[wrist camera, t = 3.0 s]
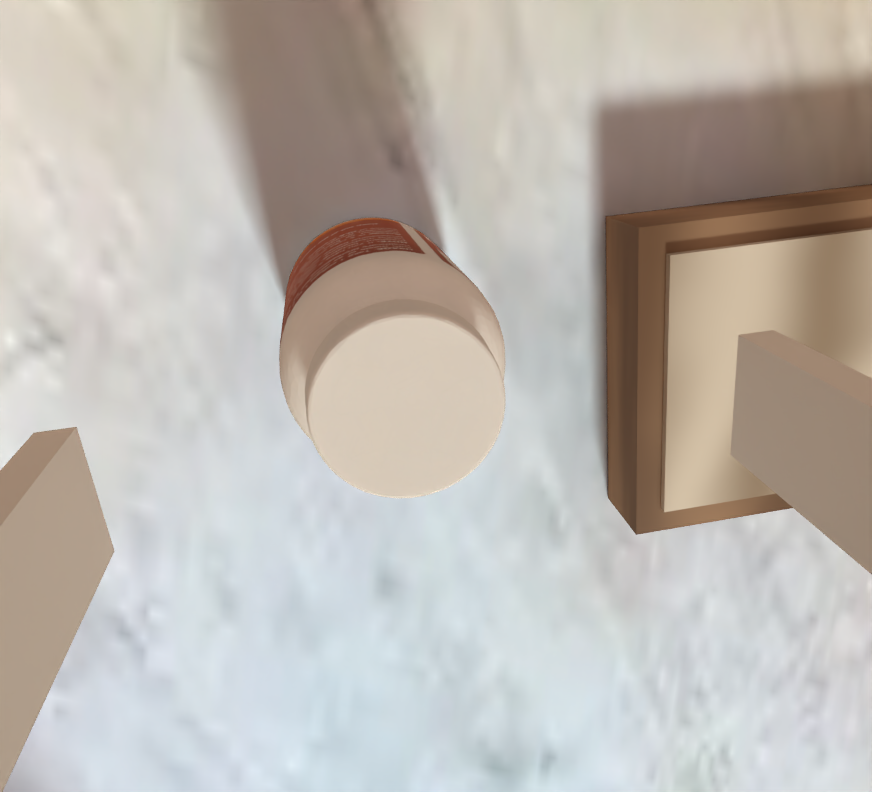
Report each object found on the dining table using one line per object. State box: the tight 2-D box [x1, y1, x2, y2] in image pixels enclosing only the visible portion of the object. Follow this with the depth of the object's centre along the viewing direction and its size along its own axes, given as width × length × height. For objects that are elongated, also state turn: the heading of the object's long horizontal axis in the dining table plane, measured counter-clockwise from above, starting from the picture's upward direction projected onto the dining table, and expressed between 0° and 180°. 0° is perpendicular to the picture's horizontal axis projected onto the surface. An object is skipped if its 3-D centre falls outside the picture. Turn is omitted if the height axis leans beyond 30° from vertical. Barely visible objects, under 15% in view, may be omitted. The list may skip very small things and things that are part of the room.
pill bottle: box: [279, 217, 505, 498], centre depth 22 cm, size 6×6×11 cm
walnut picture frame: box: [606, 184, 872, 535], centre depth 29 cm, size 12×12×3 cm
